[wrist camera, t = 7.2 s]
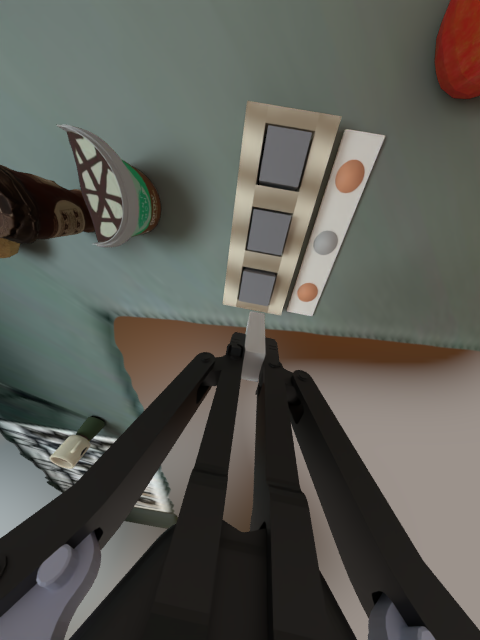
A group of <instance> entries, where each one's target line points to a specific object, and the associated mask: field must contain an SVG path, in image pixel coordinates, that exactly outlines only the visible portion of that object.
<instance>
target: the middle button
mask: <svg viewBox="0 0 480 640" xmlns="http://www.w3.org/2000/svg"><path fill="white" fill-rule="evenodd" d="M290 220H291V216H290V215H285V214H279V213H273V212H268V211H262V210H257V209H254V211H253V217H252V223H251V229H250V235H249V241H248V247H247V249H248V250H254V251H259V252H265V253H270V254H276V255H281V254H282V250H283V247H284V243H285V239H286V235H287V231H288V227H289V223H290Z"/></svg>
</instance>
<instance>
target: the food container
mask: <svg viewBox="0 0 480 640" xmlns="http://www.w3.org/2000/svg"><path fill="white" fill-rule="evenodd" d="M56 125H57V124H56ZM57 126H58V127H60V128H61V129H63V130H65V131H66V132H67V135H68V138H69V142H70V145H71V148H72V150H73V154H74V158H75V162H76V165H77V170H78V176H79V182H80V187H81V192H82V195H83V198H84V200H85V203H86V205H87V208H88V210H89V213H90V216H91V218H92V221H93V225H94V228H95V232H96V236H97V239H98V242H97V243H94V244H97V246H100V247H116V246H119V245H121V244H123V243H125V242H126V241H128V239H129V238H130V237H133V236H137V235H141V234H144V233H147V232H150V231H152V230H153V229H154V228H155V227H156V226H157V224H158V222H159V219H160V216H161V203H160V198H159V195H158V193H157V190H156V188H155V187H154V185H153V183H152V182H151V181H150V180H149V179H148V178H147V177H146V176H145V175H144V174H143V173H142V172H140V171H139V170H137V169H136V168H134V167H133V166H131V165H130V164H128V163H126V162H125V161H123V160H122V159H120V157H119V156H118V155H117V154H116V152H115V151H114V150H113V149H112V148H111V147H110V146H109V145H108V144H107V143H106V142H105V141H103V140H102V139H101V138H99V137H98V136H96V135H95V134H93V133H91V132H89V131H87V130H84V129H81V128H77V127H73V126H69V125H64V124H62V125H57ZM94 244H92V245H94Z"/></svg>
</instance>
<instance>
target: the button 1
mask: <svg viewBox="0 0 480 640" xmlns="http://www.w3.org/2000/svg"><path fill="white" fill-rule="evenodd" d="M274 281H275V273H274V272H269V271H264V270H258V269H253V268H248V267H245V269H244V271H243V277H242V283H241V289H240V295H239V301H242V302H247V303H252V304H258V305H263V306H268V304H269V300H270V297H271V293H272V289H273V285H274Z"/></svg>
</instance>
